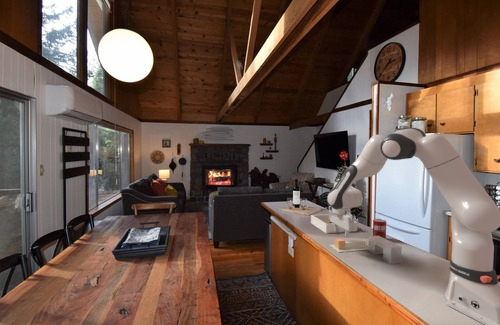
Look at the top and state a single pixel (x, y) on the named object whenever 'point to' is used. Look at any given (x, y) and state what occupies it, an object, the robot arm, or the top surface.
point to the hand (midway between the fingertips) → (341, 234)
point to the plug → (349, 243)
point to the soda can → (379, 228)
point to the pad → (350, 249)
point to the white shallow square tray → (327, 228)
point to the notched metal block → (385, 249)
